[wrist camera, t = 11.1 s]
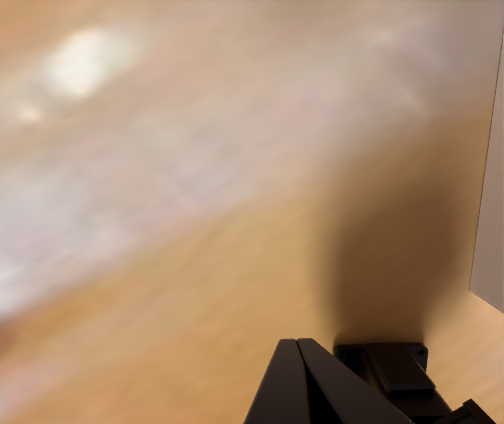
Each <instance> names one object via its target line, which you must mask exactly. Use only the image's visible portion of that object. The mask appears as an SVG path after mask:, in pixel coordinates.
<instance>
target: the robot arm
mask: <svg viewBox="0 0 504 424" xmlns="http://www.w3.org/2000/svg"><path fill="white" fill-rule="evenodd" d="M420 349H421V351H420V352H418V350H420ZM340 352H344V353H343V354H341V355H339V353H340ZM427 358H428V349H427V348H426V346H425V345H424V344H422V343H419V342H418V343H401V342H397V343H368V344H357V345H338V346H336V347H335V348H334V351H333V355H332V354H331V353H329V352H328V351H327V350H326V349H324V348H323V347H322V346H321V345H320V344H318V343H317V342H316V341H315V340H314V339H312V338H299V339H297V340H295V339H281V340H279V342H278V345H277V347H276V349H275V352H274V354H273V356H272V358H271V361H270V363H269V365H268V368H267V370H266V372H265V375H264V377H263V379H262V382H261V384H260V386H259V389H258V391H257V393H256V396H255V398H254V400H253V403H252V405H251V407H250V410H249V412H248V414H247V416H246V419H245V421H244V423H243V424H496V423H495V422H494V421H493V420H492V419H491V418H490V417H489V416H488V415H487V414H486V413H485V412H484V411H483V410H482V409H481V408H480V407H479V406H478V405H477V404H476V403H475V402H474V401H473V400H472V399H469V400H467V401H466V402H464V403H462V404H463V406H461V407H460V408H458V409H456V410H454V411H452V410H451V408H450V407H449V406H448V405H447V403H446V402H445V401H444V399H443V398H442V397H441V395H440V394H439V393H438V392H437V390H436V389H435V388H436V386H435V384H434V383H433V382H432V380H431V379H430V378H429V376H428V375H427V374H426V368H427Z"/></svg>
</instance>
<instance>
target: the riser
mask: <svg viewBox="0 0 504 424" xmlns="http://www.w3.org/2000/svg"><path fill="white" fill-rule="evenodd" d="M469 290H470V291H471V292H472V293H474V294H475V295H477V296H478V297H480V298H481V299H483V300H484V301H486V302H487V303H489V304H490V305H492V306H493V307H495V308H496V309H498V310H499V311H501V312H502V313H504V35H503V42H502V50H501V57H500V65H499V72H498V80H497V87H496V95H495V102H494V109H493V117H492V124H491V132H490V139H489V147H488V154H487V162H486V169H485V176H484V184H483V191H482V199H481V206H480V214H479V221H478V229H477V236H476V244H475V251H474V258H473V266H472V273H471V281H470V288H469Z"/></svg>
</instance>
